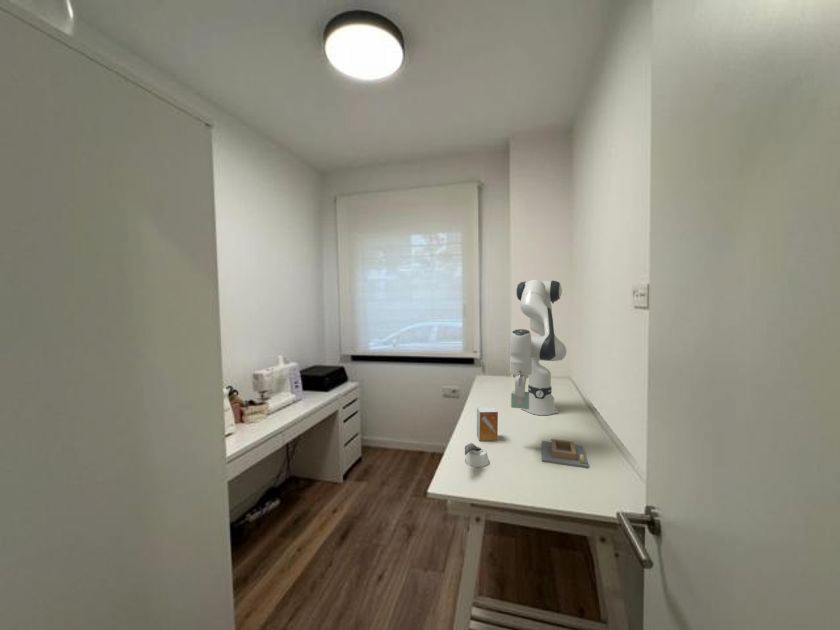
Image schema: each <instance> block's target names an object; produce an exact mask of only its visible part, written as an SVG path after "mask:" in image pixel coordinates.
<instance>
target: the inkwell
mask: <svg viewBox="0 0 840 630" xmlns="http://www.w3.org/2000/svg"><path fill="white" fill-rule="evenodd" d="M464 456H465V458H464V462H465V463H466V464H467V465H468V464H469V466H470V465H471V466H470V467H473V466H474V467H475V468H483V467H486V466H487V465H489V464H490V460H489V456H488V452H487V450H486V449H485V448H483V447H481V446H479V445H475V444H474V443H472V442H471V443H468V444H466V445H465V447H464Z"/></svg>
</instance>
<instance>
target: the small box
mask: <svg viewBox="0 0 840 630" xmlns="http://www.w3.org/2000/svg"><path fill="white" fill-rule="evenodd" d="M498 419H499V411H498V410H497V409H496V408H495V407H493V406H492V407H487V406H485V407H476V437H477V439H478V440H479V442H484V441H487V442H488V441H489V442H490V441H491V442H493V441H496V442H497V441H498V432H499V431H498V429H499V427H498V425H499V423H498V422H499V421H498Z"/></svg>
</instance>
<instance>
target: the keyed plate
mask: <svg viewBox="0 0 840 630" xmlns="http://www.w3.org/2000/svg"><path fill="white" fill-rule="evenodd" d="M585 452H586V451H585V449H584V445H582V444H581V445H580V444H575V441H570V440H563V439H555V438H551V440H550V441H549V440H548V441H547V440H541V462H543V463H548V464H556V465H561V466H570V467H577V468H582V469H589V463H588V460H587V457H586V453H585Z"/></svg>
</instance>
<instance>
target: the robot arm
mask: <svg viewBox="0 0 840 630" xmlns="http://www.w3.org/2000/svg"><path fill="white" fill-rule="evenodd" d="M562 288H563V287H562V285H561V282H559V281H557V280H544V279H543V280H541V279H540V280H539V279H531V280H529V281H525V280H524V281H521V282H519V283H518V284H517V288H516V289H515V294H516V297H517V299H518V300H519V301H520V304H519V305H520V310H521V311H522V312H521V313H523V315H524V316H526V317H527V318H529V328H530V330H531V331H532V332H534V333H535V334H537V335H538V336H536V335H531V331H530V330H529V329H523V328H520V329H519V328H518V329H515V330H513V331H512V332H511V334H510V339H509V341H510V342H509V354H510V357H509V374H511V375H512V377H513V378H514V391H515V397H517V398H518V404H522V398H523V397H524V395H525V392H526V383H527V379H528V380H529V383H528V386H527V392H529V409H522V408H520V409H521V410H522V411H525V412H527V413H528V414H532V415H537V416H549V415H550V416H551V415H553V414H559V411H558V409H557V408H556V407H555V397H554V396H553V395H552V393H553V392H552V385H551V381H552V373H551V371H550V370H549V369H548V368H547V367H546V366H543V365H542V364H541V363H540V362H539V361H546V362H547V361H548V362H558V361H562V360H563V359H565V357H566V355H567V346H566V345H565V344H564V343H563V342H562V341H561V340H560V339H559V338H558V337H557V336H556V334H555V328H554V318H553V312H552V311H553V309H552V308H553V307H552V304H554V303H555V302H558V301H559V300H560V299H561V296H562V293H563V289H562Z"/></svg>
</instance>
